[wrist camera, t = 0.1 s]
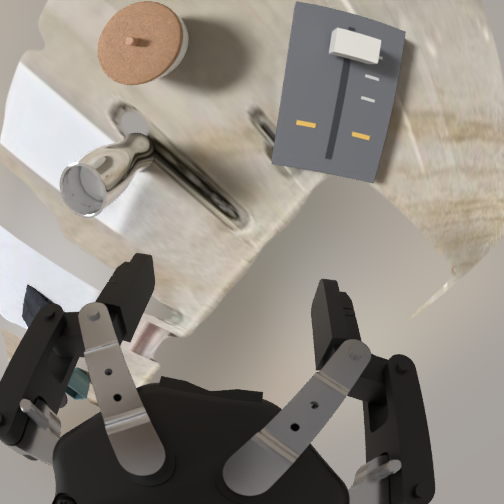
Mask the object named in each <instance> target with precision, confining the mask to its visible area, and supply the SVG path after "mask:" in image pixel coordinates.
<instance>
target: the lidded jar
mask: <svg viewBox="0 0 504 504" xmlns="http://www.w3.org/2000/svg"><path fill="white" fill-rule="evenodd" d="M188 42H189V37H188V31H187V28H186V26H185V23H184V22H183V21H182V19H181V18H180V17H179V16H178V15H177V14H176V13H175V12H173V11H172V10H171V9H170V8H168V7H166V6H165V5H163V4H160V3H157V2H148V1H145V2H138V3H135V4H131V5H129V6H127V7H125V8H123V9H122V10H120V11H119V12H118V13H116V14H115V15H114V16H113V17H112V18H111V19H110V20H109V22H108V23H107V24H106V26H105V27H104V29H103V31H102V33H101V36H100V39H99V43H98V58H99V63H100V65H101V67H102V69H103V71H104V72H105V73H106V74H107V76H108V77H110V78H111V79H112V80H114V81H116V82H118V83H121V84H126V85H138V84H143V83H147V82H150V81H154V80H156V79H159V78H161V77H163V76H165V75H167V74H168V73H170V72H171V71H173V70H174V69H175V68H176V67H177V66H178V65H179V64H180V62H181V61H182V59H183V58H184V56H185V54H186V52H187V48H188Z"/></svg>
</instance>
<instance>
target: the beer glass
mask: <svg viewBox="0 0 504 504" xmlns="http://www.w3.org/2000/svg"><path fill="white" fill-rule="evenodd" d="M153 159H154V147H153V144H152V142H151V141H150V139H149V138H148V137H147V136H145V135H143V134H141V133H130V134H128V135H126V136H125V137H124V138H123V139H122V140H121V141H120V142H118V143H114V144H109V145H104V146H101V147H98V148H95V149H93V150H91V151H89V152H87V153H86V154H84V155H82V156H81V157H80V158H78V159H77V160H76V161H74V162H73V163H72V164H70V165H69V166H67V167H66V168H65V169H64V171H63V173H62V175H61V178H60V191H61V195H62V198H63V200H64V202H65V203H66V205H67V206H68V208H69V209H70V210H71V211H73V212H74V213H75V214H77V215H79V216H82V217H87V218H89V217H94V216H96V215H98V214H99V213H100V212H101V211H103V210H104V209H105V208H107V207H108V206H109V205H110V204H112V203H113V202H114V201H115V200H116V199H117V198H118V197H119V196H120V195H121V194H122V193H123V192H124V191H125V190H126V188H127V187H128V186H129V184H130V183H131V181H132V179H133V178H134V176H135V175H136V173H137V172H139V171H142V170H144V169H146V168H147V167H149V166H150V164H151V163H152V161H153Z"/></svg>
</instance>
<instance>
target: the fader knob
mask: <svg viewBox="0 0 504 504" xmlns="http://www.w3.org/2000/svg"><path fill="white" fill-rule="evenodd" d="M380 47H381V40H379V39H376V38H373V37H370V36H366V35H363V34H360V33H356V32H353V31H349V30H345V29H341V28H336V29H335V30H334V31H332V35H331V42H330V48H329V54H332V55H336V56H340V57H344V58H348V59H352V60H356V61H359V62H363V63H366V64H378V59H379V53H380Z"/></svg>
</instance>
